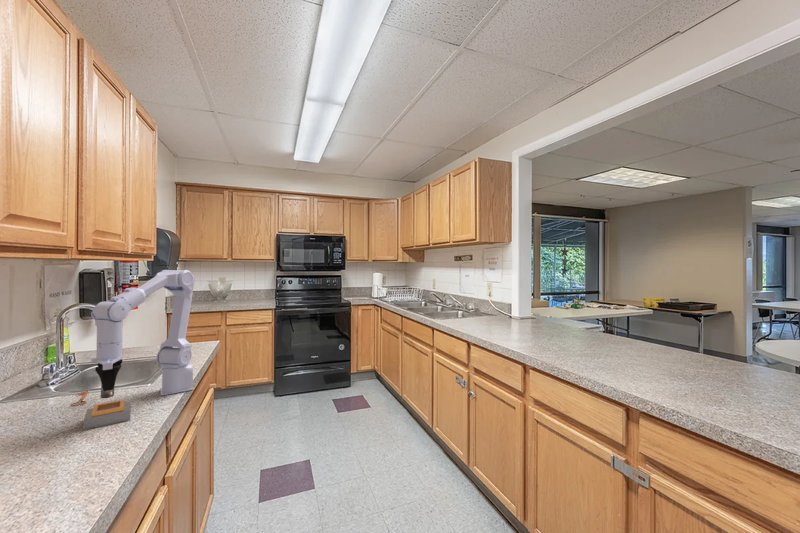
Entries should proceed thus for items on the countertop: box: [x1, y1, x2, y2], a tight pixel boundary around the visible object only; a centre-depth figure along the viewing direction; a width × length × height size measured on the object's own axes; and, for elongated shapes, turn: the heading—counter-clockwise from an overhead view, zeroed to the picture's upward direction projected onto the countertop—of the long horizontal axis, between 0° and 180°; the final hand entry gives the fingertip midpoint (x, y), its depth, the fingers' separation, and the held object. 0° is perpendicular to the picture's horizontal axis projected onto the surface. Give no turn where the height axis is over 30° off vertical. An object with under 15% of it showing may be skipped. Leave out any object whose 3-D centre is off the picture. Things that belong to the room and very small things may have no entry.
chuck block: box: [83, 399, 132, 431], centre depth 97 cm, size 10×8×4 cm
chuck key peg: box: [99, 382, 116, 399], centre depth 97 cm, size 3×3×6 cm
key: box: [69, 389, 90, 407], centre depth 112 cm, size 6×1×15 cm
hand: (109, 388), depth 97 cm, fingers closed on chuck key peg, 3 cm apart
